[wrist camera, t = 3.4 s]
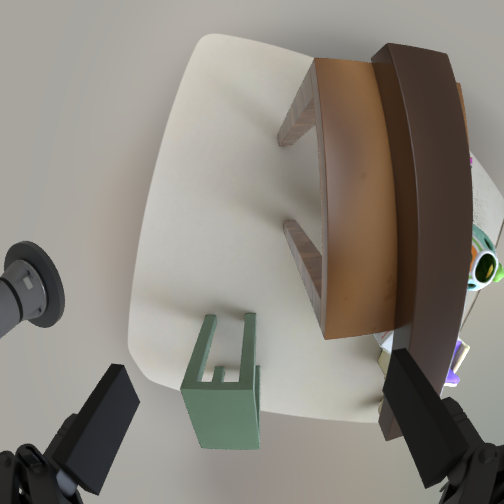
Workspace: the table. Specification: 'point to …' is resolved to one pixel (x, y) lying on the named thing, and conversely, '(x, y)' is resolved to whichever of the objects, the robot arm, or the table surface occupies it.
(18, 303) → the robot arm
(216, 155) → the table surface
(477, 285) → the turtle holder
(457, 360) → the toy sofa
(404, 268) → the walnut slat
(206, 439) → the low stool
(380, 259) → the high stand
